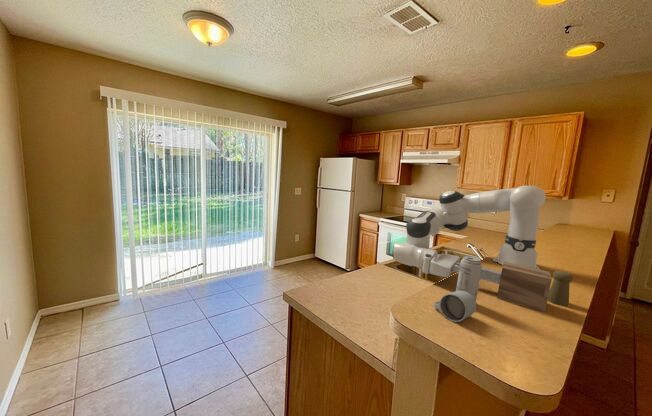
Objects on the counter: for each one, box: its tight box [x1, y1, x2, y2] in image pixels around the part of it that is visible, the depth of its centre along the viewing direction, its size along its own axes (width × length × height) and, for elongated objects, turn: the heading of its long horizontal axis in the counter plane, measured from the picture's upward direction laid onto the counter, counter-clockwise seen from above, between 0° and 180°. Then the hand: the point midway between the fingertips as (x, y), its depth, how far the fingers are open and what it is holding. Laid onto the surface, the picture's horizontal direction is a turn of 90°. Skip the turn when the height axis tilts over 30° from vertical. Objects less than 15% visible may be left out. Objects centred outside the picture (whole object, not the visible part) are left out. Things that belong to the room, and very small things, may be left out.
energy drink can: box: [455, 255, 483, 302], centre depth 86 cm, size 6×6×15 cm
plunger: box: [480, 266, 502, 285], centre depth 97 cm, size 5×13×5 cm, turn 53°
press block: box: [496, 262, 553, 313], centre depth 92 cm, size 9×13×11 cm
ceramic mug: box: [433, 290, 477, 323], centre depth 79 cm, size 11×8×8 cm
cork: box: [547, 269, 574, 307], centre depth 93 cm, size 6×6×11 cm
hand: (468, 269), depth 102 cm, fingers closed
